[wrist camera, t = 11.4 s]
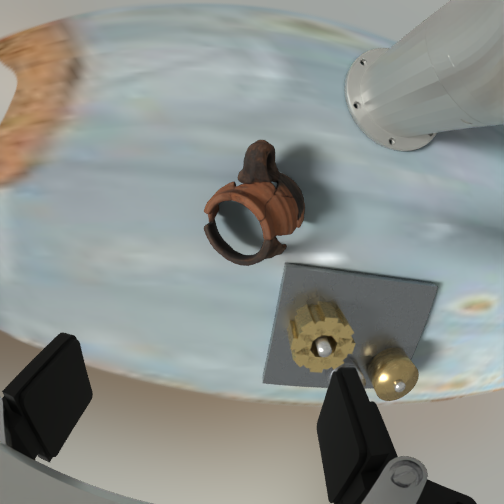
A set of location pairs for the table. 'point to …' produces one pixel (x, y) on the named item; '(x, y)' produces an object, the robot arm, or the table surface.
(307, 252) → the table surface
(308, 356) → the planet gear
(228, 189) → the brown clawed ring bracket
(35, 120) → the table surface
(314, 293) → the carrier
